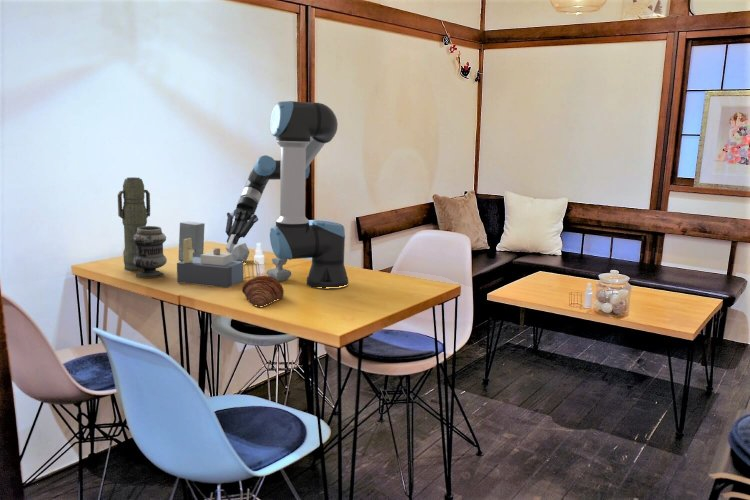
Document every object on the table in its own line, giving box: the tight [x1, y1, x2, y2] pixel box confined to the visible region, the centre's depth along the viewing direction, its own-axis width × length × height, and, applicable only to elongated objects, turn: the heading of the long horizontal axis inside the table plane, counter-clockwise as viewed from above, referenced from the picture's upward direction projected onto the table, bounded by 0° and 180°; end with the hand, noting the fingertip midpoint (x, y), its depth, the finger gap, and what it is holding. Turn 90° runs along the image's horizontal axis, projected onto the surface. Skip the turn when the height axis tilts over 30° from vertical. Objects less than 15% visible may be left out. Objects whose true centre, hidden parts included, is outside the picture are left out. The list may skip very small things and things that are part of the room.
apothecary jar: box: [132, 225, 168, 279], centre depth 245 cm, size 12×12×18 cm
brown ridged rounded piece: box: [241, 275, 285, 306], centre depth 219 cm, size 17×15×8 cm
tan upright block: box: [183, 238, 194, 263], centre depth 237 cm, size 2×5×8 cm, turn 164°
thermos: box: [117, 176, 151, 272], centre depth 254 cm, size 9×12×35 cm
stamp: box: [266, 257, 292, 282], centre depth 245 cm, size 9×7×8 cm
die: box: [232, 242, 250, 262], centre depth 275 cm, size 8×9×10 cm
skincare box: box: [178, 220, 205, 262], centre depth 274 cm, size 8×7×16 cm
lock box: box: [176, 257, 244, 289], centre depth 240 cm, size 20×12×7 cm, turn 74°
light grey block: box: [201, 247, 233, 265], centre depth 240 cm, size 9×7×5 cm
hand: (228, 250), depth 249 cm, fingers closed
